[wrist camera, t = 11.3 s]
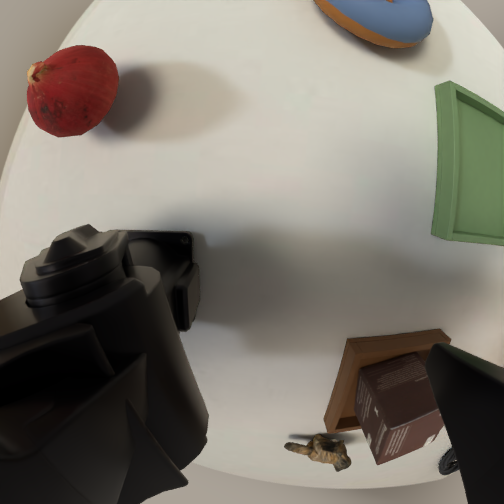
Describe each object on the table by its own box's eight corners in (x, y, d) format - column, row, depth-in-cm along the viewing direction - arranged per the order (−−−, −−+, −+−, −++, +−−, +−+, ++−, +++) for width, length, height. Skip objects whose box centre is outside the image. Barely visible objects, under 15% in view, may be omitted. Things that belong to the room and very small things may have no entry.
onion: (130, 138, 16) (58, 120, 8) (65, 144, 15) (-12, 140, 8) (142, 61, 14) (88, 8, 6) (77, 73, 14) (11, 43, 6)
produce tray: (430, 234, 18) (446, 240, 16) (434, 85, 14) (449, 80, 12) (506, 242, 18) (519, 247, 16) (511, 127, 15) (525, 127, 13)
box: (357, 366, 20) (390, 429, 13) (416, 348, 20) (458, 398, 13) (352, 410, 22) (375, 467, 15) (405, 393, 22) (435, 441, 15)
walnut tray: (323, 419, 23) (327, 434, 21) (347, 338, 20) (355, 353, 18) (406, 404, 23) (413, 416, 21) (439, 328, 20) (451, 339, 18)
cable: (449, 465, 33) (455, 477, 29) (420, 471, 31) (427, 486, 27) (501, 414, 29) (510, 425, 25) (483, 413, 27) (493, 427, 23)
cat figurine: (342, 449, 24) (343, 475, 20) (281, 434, 25) (278, 461, 21) (355, 437, 24) (359, 462, 20) (293, 420, 24) (290, 448, 20)
